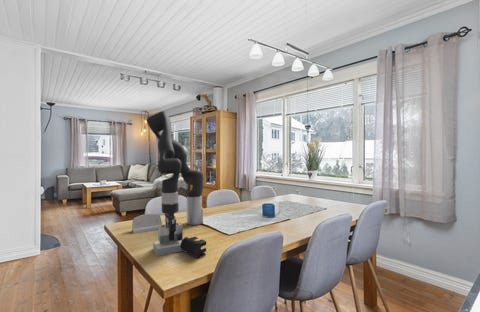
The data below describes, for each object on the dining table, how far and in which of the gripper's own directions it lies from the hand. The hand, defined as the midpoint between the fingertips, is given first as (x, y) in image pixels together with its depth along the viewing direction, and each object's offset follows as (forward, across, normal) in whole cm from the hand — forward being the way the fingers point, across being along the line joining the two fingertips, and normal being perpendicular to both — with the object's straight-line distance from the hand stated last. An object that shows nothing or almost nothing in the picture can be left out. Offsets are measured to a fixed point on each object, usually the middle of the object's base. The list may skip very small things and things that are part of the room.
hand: (170, 238), depth 116 cm
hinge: (+6, -36, -6) cm, 37 cm away
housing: (+1, 0, 0) cm, 1 cm away
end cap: (+6, +10, +8) cm, 14 cm away
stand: (+5, 0, 0) cm, 5 cm away
